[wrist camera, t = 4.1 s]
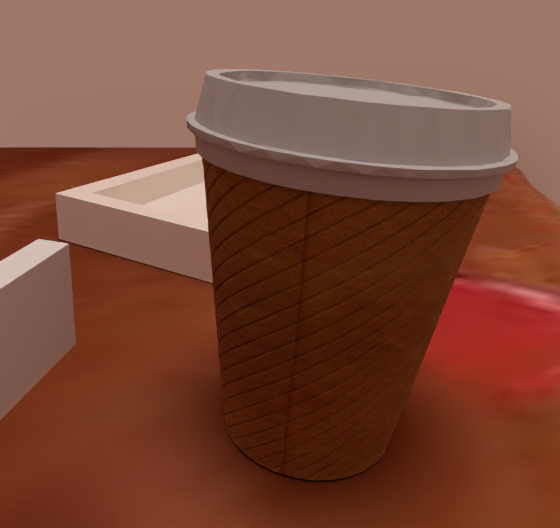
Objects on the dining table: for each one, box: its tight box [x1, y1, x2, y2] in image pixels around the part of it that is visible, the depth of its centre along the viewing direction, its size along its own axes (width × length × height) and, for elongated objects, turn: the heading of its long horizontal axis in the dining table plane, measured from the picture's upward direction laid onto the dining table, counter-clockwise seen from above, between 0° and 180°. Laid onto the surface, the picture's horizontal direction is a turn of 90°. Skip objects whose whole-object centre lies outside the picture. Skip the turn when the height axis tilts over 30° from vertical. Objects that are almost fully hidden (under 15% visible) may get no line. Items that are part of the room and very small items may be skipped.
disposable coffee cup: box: [187, 69, 518, 480], centre depth 17 cm, size 10×10×12 cm
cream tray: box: [55, 154, 213, 283], centre depth 38 cm, size 20×20×3 cm
